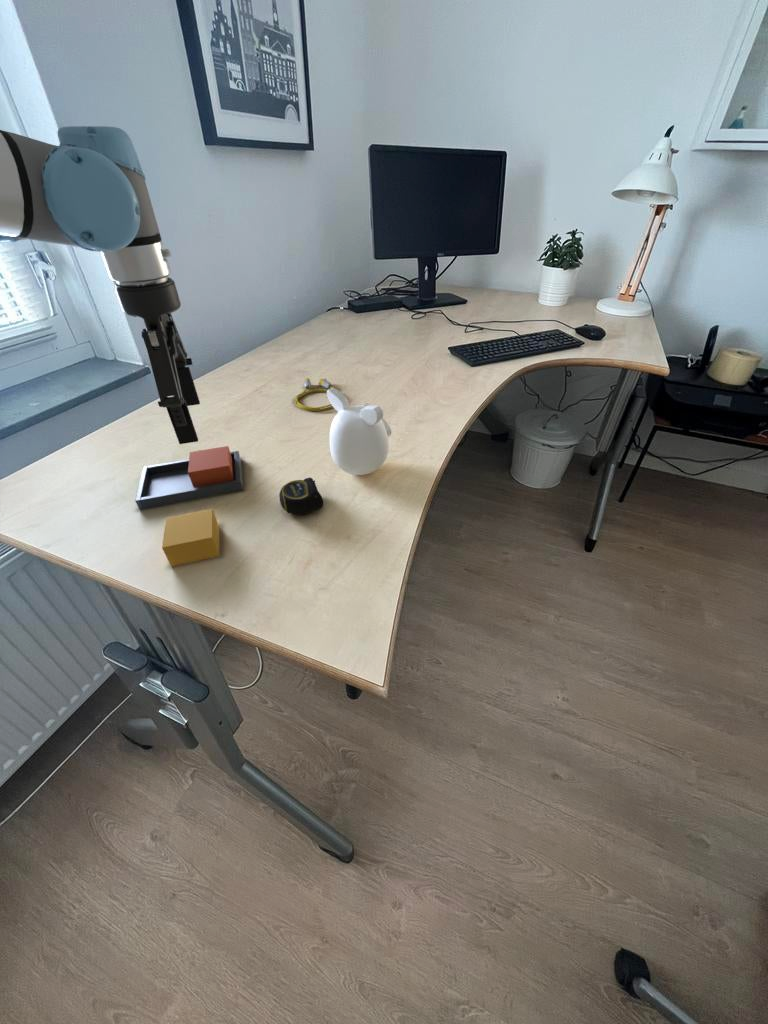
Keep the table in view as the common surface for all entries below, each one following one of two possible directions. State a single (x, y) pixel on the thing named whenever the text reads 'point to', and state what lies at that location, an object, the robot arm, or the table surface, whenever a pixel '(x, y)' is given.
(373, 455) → the white bunny figurine
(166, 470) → the tray
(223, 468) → the pad terracotta
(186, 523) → the pad mustard
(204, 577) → the table surface
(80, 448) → the table surface
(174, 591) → the table surface
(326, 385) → the coiled yellow cable
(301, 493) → the tape measure
